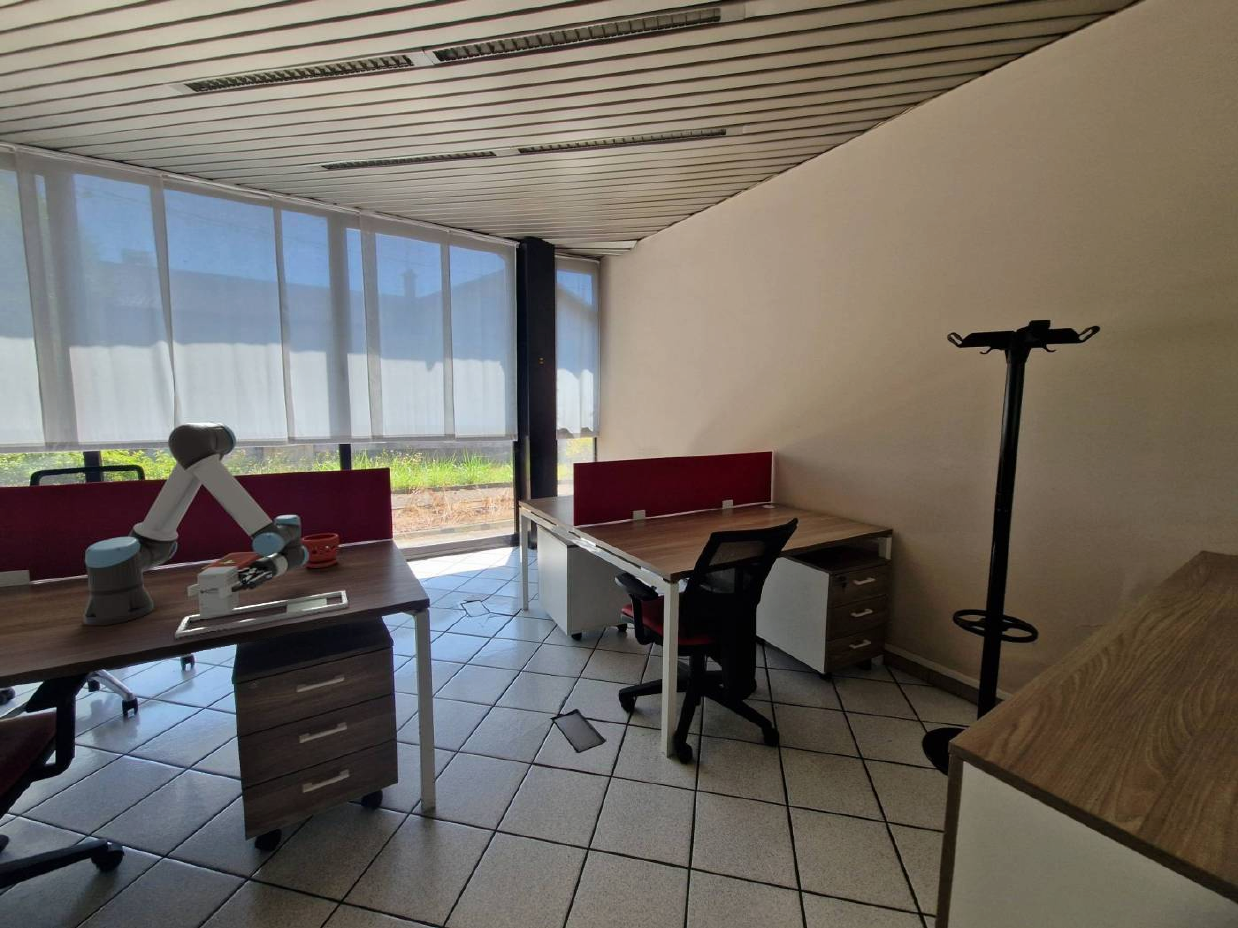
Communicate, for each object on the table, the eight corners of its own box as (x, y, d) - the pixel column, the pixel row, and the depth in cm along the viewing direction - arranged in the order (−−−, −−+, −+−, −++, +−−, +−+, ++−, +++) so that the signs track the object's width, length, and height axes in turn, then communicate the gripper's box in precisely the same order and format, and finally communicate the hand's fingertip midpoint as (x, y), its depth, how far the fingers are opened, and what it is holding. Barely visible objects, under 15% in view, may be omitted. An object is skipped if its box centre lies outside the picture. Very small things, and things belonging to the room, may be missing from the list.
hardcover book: (264, 560, 208) (263, 550, 208) (237, 577, 188) (237, 566, 187) (232, 562, 205) (231, 552, 205) (201, 579, 185) (200, 568, 185)
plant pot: (346, 563, 204) (344, 535, 203) (313, 571, 193) (311, 542, 192) (329, 557, 211) (328, 530, 210) (296, 565, 200) (294, 537, 199)
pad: (286, 616, 152) (286, 615, 152) (287, 605, 160) (287, 604, 160) (327, 609, 158) (327, 608, 158) (326, 598, 166) (326, 597, 166)
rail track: (175, 638, 137) (174, 633, 137) (185, 621, 148) (184, 616, 148) (347, 607, 160) (347, 602, 159) (345, 594, 171) (345, 590, 170)
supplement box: (198, 616, 143) (195, 574, 141) (212, 606, 150) (209, 566, 148) (228, 614, 145) (225, 573, 143) (240, 604, 152) (237, 565, 150)
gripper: (298, 580, 163) (239, 607, 141) (238, 576, 166) (171, 602, 143) (297, 559, 163) (238, 582, 140) (236, 555, 165) (169, 577, 142)
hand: (204, 592), depth 142 cm, fingers closed on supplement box, 9 cm apart
